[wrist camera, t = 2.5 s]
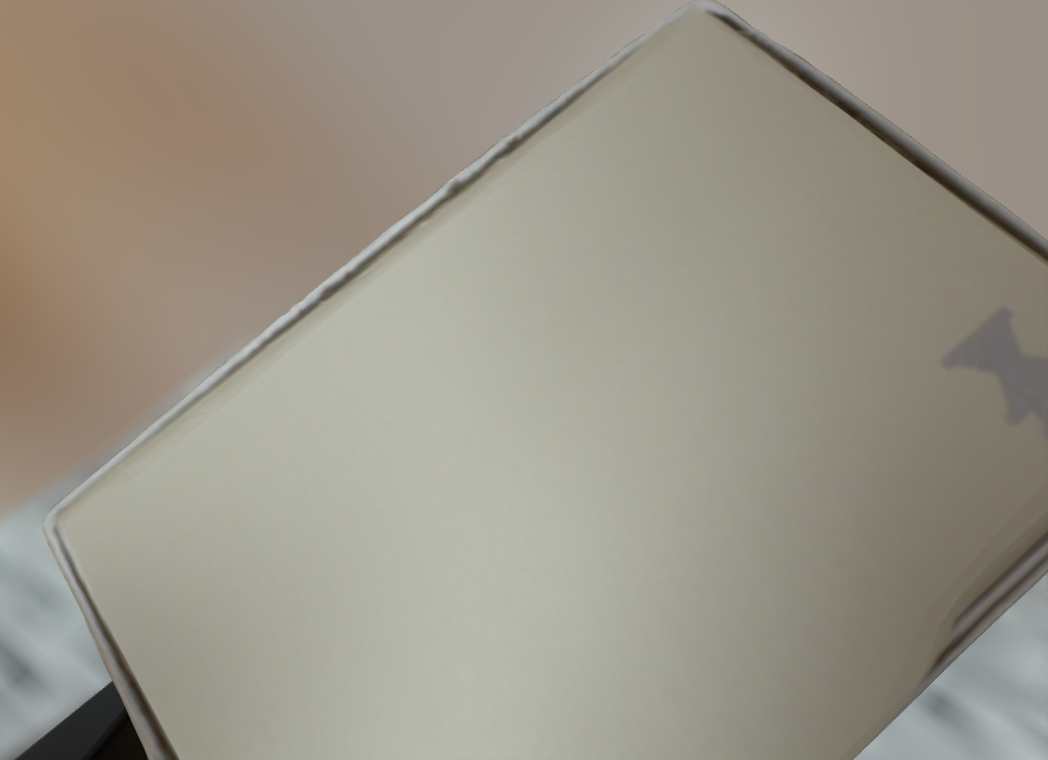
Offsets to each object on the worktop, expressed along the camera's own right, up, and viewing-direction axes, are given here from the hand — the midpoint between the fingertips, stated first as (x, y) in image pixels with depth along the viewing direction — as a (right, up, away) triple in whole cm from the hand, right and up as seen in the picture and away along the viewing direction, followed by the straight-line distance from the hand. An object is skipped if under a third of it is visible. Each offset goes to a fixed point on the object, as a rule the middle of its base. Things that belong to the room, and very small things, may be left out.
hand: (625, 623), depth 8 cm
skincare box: (+1, -2, +9) cm, 9 cm away
